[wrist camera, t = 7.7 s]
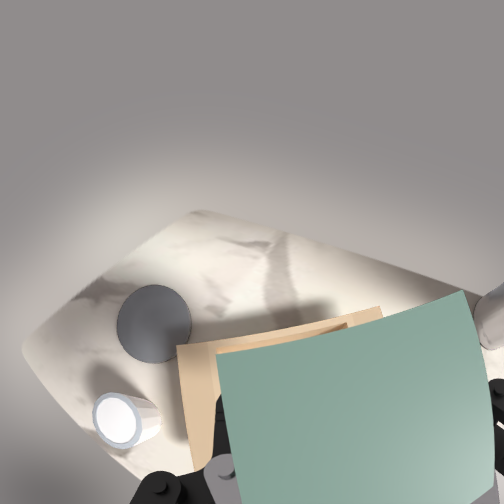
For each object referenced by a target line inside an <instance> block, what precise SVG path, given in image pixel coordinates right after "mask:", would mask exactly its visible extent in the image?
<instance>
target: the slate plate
mask: <svg viewBox="0 0 504 504" xmlns="http://www.w3.org/2000/svg"><path fill="white" fill-rule="evenodd" d="M190 331H191V315H190V311H189V309H188V306H187V304H186V303H185V301H184V300H183V299H182V298H181V296H180V295H179V294H177V293H176V292H175V291H174V290H172V289H170V288H168V287H165V286H161V285H150V286H146V287H143V288H141V289H139V290H137V291H135V292H134V293H133V294H131V295H130V296H129V297H128V298H127V300H126V301H125V302H124V304H123V306H122V307H121V310H120V312H119V315H118V320H117V332H118V337H119V340H120V342H121V345H122V346H123V348H124V349H125V350H126V352H127V353H128V354H129V355H131V356H132V357H133V358H135V359H137V360H139V361H142V362H146V363H154V364H156V363H162V362H165V361H168V360H170V359H172V358H173V357H175V356H176V355H177V348H176V345H183V344H186V343H187V341H188V338H189V335H190Z"/></svg>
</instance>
